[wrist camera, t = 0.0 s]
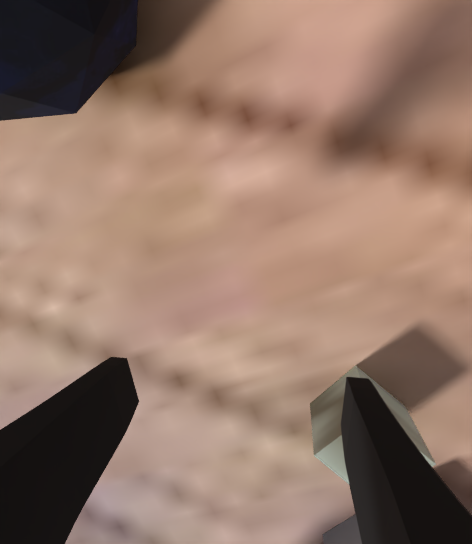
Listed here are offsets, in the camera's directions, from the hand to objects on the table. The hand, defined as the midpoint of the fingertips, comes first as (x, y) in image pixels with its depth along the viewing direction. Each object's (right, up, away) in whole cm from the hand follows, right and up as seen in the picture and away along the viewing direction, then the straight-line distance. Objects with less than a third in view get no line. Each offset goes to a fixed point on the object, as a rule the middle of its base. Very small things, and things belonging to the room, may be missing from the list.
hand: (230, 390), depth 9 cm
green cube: (+9, -6, +11) cm, 15 cm away
